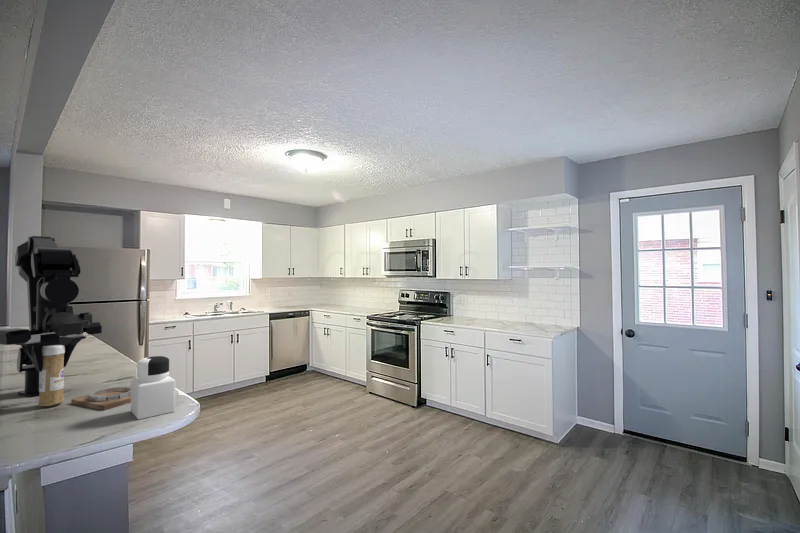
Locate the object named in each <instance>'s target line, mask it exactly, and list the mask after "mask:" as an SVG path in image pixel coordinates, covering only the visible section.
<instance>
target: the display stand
mask: <svg viewBox="0 0 800 533" xmlns="http://www.w3.org/2000/svg"><path fill="white" fill-rule="evenodd" d="M129 402H130V403H131V386H127V385H126V386H113V387H107V388H102V389H97V390H94V391H92V392H91V393H89V394H87V395H84V396H80V397H75V398H71V402H70V404H72V405H76V406H81V407H87V408H91V409H96V410H101V411H106V410H110V409H113V408H116V407H119V406H123V405H127V404H129ZM126 403H127V404H126Z"/></svg>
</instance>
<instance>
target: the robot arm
mask: <svg viewBox="0 0 800 533" xmlns="http://www.w3.org/2000/svg"><path fill="white" fill-rule="evenodd" d="M14 266H15V267H17V268H18V275H19V276H20V278H22V279H23V280H24V281H25V282H26V287H27V305H28V306H27V307H28V311H27V312H28V328H21V327H20V328H19V327H18V328H17V327H16V328H7V329H5V328H4V329H0V345H6V346H7V345H8V346H10V345H15V346H20V347H18V353H17V359H16V370H17V372H19V373H23V372H24V390H20V391H17V394H18V395H23V396H26V397H35V396H39V372H41V371H42V366H43V361H42V348H43V346H49V345H64V346H65V353H64V368H66V367H67V365H68V362H69V359H70V357H72V356H71V355H72V353H73V352H74V349H75V348H76V346H77V344H79V342H81V341H82V340H84V339H86V338H87V336H86V335H84V333H86V334H88V335H89V336H90V335H97V334H99V335H100V334H103V325H102V324H101V322H99V321H93V313H91V312H87V311H86V312H80V313H77V314H75V313H74V308H73V306H72V305H70V303H71V302H73V301H75V300H76V299H77V297H78V295H79V294H80V288H79V286H78V284H77V283H76V282H75V281H73V280H72V279H71V278H79V275H80V274H81V270H82V269H81V267H80V262H79V258H77V256H76V254H75V253H73V251H72V249H70V248H62V247H59V245H57V244H56V240H55V238H54V237H51V236H44V235H43V236H41V235H31V236H28V238H27V241H25V242H23V243H21V244H20V245H17V247H16V250H15V255H14Z"/></svg>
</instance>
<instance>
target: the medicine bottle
mask: <svg viewBox="0 0 800 533" xmlns="http://www.w3.org/2000/svg"><path fill="white" fill-rule="evenodd" d="M136 363H137V369H136V371H137V372H136V373H137V374H136V378H134V379H132V380H131V381H130V387H131V402H130V412H131V413H132V414H133V416H135V418H136V419H137V420H143V419H147V418H151V417H157V416H161V415H166V414H170V413H174V412H176V380H175V379H174V378H172V377H171V376H170V358H169V357H167V356H164V355H157V356H156V355H155V356H154V355H153V356H148V357H144V358H141V359H140V360H138V361H137V362H136Z"/></svg>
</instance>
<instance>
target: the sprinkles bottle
mask: <svg viewBox="0 0 800 533" xmlns="http://www.w3.org/2000/svg"><path fill="white" fill-rule="evenodd" d="M64 353H65V346H64V345H49V346H43V348H42V361H43V366H42V371H41V372H39V395H38V396H39V398H38V399H39V400H38V406H39V407H53V406H56V405H59V404H61V403H63V402H64V401H65V399H64V387H65V367H64Z"/></svg>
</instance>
